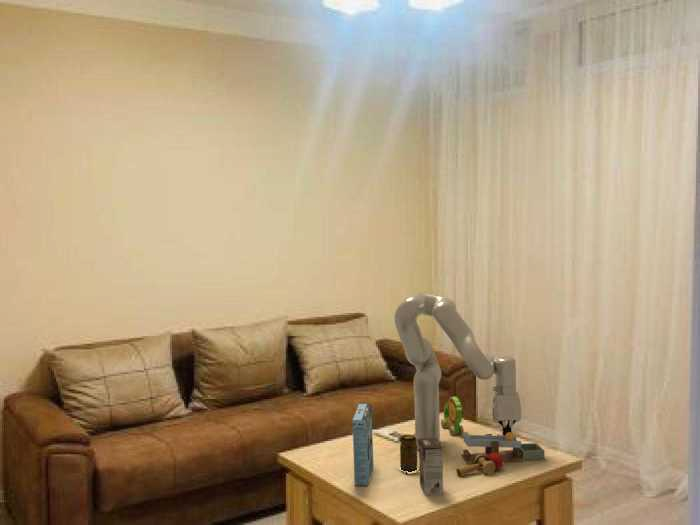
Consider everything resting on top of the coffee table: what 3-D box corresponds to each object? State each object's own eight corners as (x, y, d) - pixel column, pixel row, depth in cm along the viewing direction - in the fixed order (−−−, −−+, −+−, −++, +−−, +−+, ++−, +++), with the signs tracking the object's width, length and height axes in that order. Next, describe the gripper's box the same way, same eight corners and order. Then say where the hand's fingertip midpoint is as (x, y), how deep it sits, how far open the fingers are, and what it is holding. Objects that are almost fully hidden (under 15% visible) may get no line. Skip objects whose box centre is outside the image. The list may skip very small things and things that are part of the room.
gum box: (368, 486, 236) (366, 420, 234) (353, 485, 237) (351, 420, 235) (373, 464, 256) (372, 403, 254) (359, 464, 256) (358, 403, 254)
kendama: (466, 485, 239) (509, 468, 246) (462, 466, 239) (505, 451, 246) (455, 481, 246) (497, 465, 253) (451, 463, 246) (493, 448, 253)
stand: (467, 464, 253) (467, 443, 253) (461, 455, 263) (461, 435, 262) (523, 461, 255) (523, 440, 255) (515, 452, 264) (515, 432, 264)
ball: (507, 433, 257) (516, 434, 257) (504, 430, 260) (513, 431, 261) (505, 442, 257) (514, 443, 257) (502, 439, 261) (511, 440, 261)
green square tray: (523, 460, 256) (523, 451, 256) (516, 453, 264) (516, 444, 264) (544, 459, 257) (544, 450, 256) (536, 451, 265) (536, 443, 264)
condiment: (412, 464, 256) (411, 432, 254) (424, 471, 248) (424, 439, 247) (395, 467, 252) (394, 435, 251) (407, 475, 245) (406, 442, 244)
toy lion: (440, 426, 297) (439, 391, 296) (452, 425, 298) (451, 390, 297) (454, 438, 282) (453, 401, 280) (466, 437, 283) (466, 400, 282)
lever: (467, 446, 254) (468, 437, 254) (459, 435, 267) (459, 426, 266) (521, 448, 256) (521, 438, 256) (510, 436, 269) (510, 427, 268)
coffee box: (419, 484, 237) (418, 438, 236) (437, 483, 237) (437, 437, 236) (424, 495, 228) (423, 447, 226) (443, 494, 228) (443, 446, 227)
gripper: (489, 393, 259) (490, 441, 261) (528, 390, 260) (529, 438, 262) (483, 388, 267) (485, 435, 268) (521, 385, 268) (522, 432, 269)
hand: (507, 436), depth 265 cm, fingers closed
